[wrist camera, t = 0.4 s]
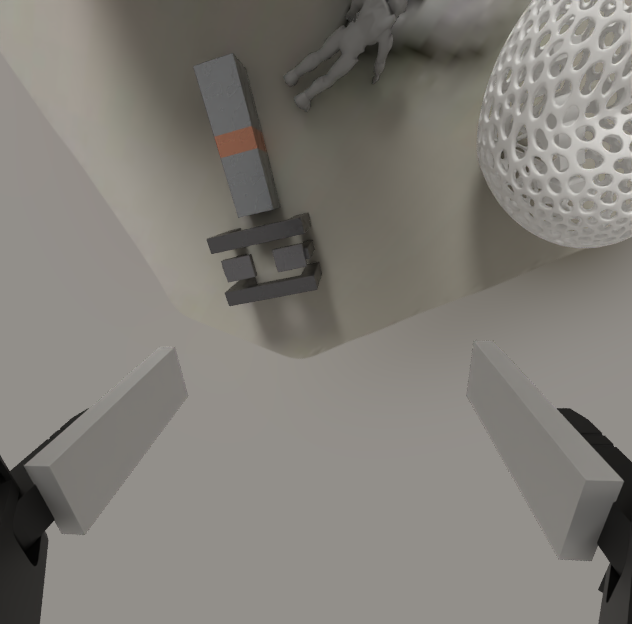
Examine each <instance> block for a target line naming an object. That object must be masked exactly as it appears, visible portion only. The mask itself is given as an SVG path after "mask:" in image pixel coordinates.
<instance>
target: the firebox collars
mask: <svg viewBox="0 0 632 624" xmlns="http://www.w3.org/2000/svg"><path fill="white" fill-rule="evenodd" d="M310 227H311V223H310V218H309V214H308V213H304V214H300V215H296V216H294V217H292V218H290V219H288V220H285V221H280V222H276V223H271V224H267V225H263V226H258V227H254V228H250V229H245V230H241V228H239V229H235V230H231V231H227V232H225V233H222V234H219V235H216V236H214V237H211V238H208V239H207V242H208V245H209V248H210V251H211V254H214V253H219V252H223V251H228V250H232V249H237V248H241V247H246V246H250V245H255V244H260V243H264V242H269V241H273V240H278V239H282V238H287V237H291V236H296V235H300V234H304V233H305V232H306V231H307V230H308V229H309V228H310ZM314 250H315V248H314V243H313V240H309V241H305V242H303V243H299V244H294V245H290V246H285V247H280V248H276V249H273V250H272V252H273V256H274V259H275V263H276V267H277V270H278V272H282V271H287V270H292V269H296V268H301V267H305V269H304V271H303V272H302V274H301V275H300V276H295V277H290V278H285V279H280V280H275V281H270V282H265V283H260V284H257V281H256V278H255V277H256V276H257V272H256V269H255V266H254V262H253V259H252V255H251V254H248V255H247V254H244V255H240V256H237V257H234V258H230V259H225V260H223V261H221V262H222V265H223V269H224V272H225V275H226V277H227V280H228V282H232V281H237V280H239V281H238V282H237V283H236V284H235V285H233V286H232V287H231V288H230V289H229V290H228V291H226V292H225V295H226V298H227V301H228V304H229V306H233V305H238V304H244V303H249V302H254V301H259V300H265V299H270V298H275V297H281V296H286V295H291V294H296V293H302V292H307V291H312V290H317V289H318V286H319V282H320V279H321V275H322V272H321V267H320V263H319V262H315V263H310V264H307V260H306V259H310V258H311V256H312V254H313V252H314Z"/></svg>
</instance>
